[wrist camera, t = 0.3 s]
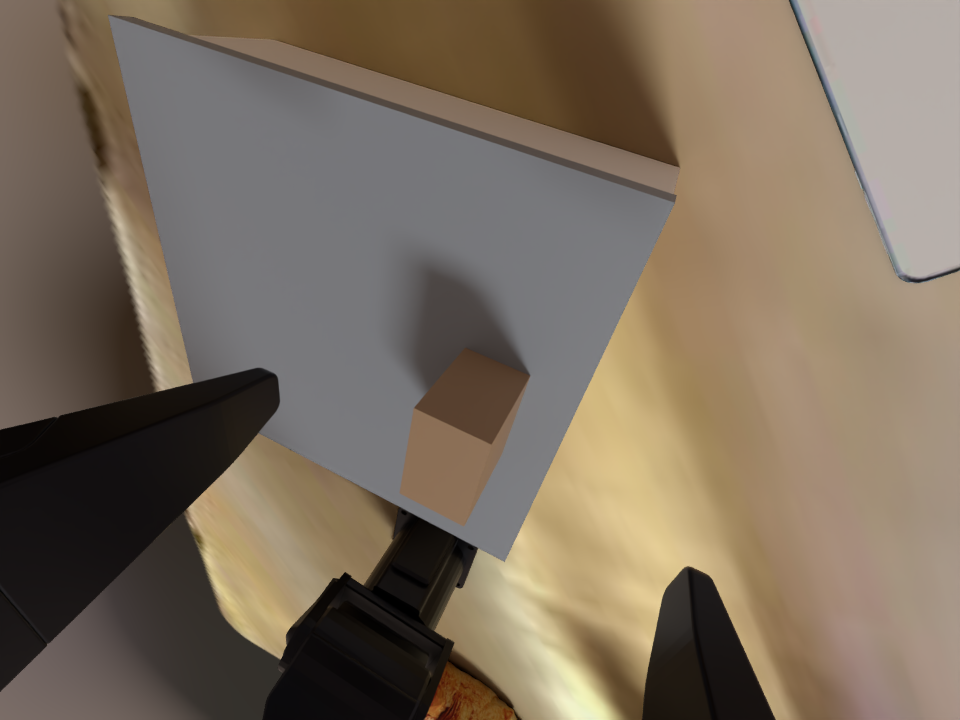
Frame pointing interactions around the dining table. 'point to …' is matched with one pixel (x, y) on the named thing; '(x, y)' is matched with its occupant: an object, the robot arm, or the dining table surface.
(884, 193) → the smartphone
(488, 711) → the croissant
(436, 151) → the lid
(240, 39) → the lidded box
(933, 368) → the dining table surface
